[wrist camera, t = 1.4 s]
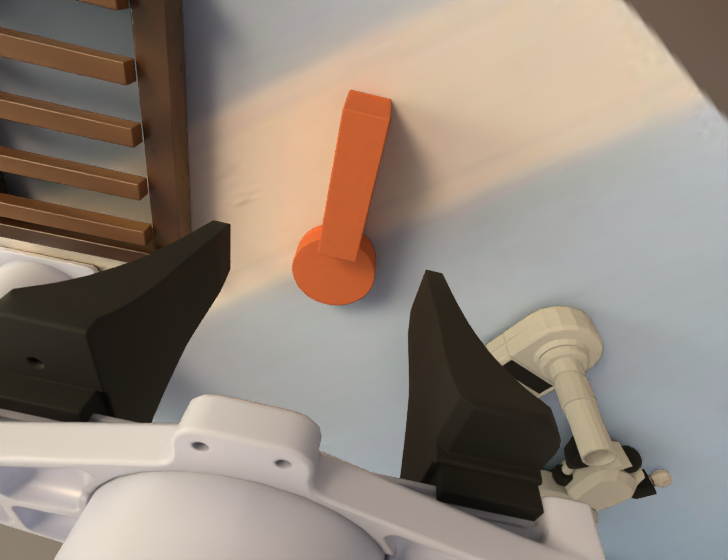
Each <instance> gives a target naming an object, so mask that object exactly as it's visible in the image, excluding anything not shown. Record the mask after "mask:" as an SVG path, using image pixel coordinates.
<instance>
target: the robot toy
mask: <svg viewBox="0 0 728 560" xmlns="http://www.w3.org/2000/svg"><path fill="white" fill-rule="evenodd" d="M612 443H613V445H614V448H615V450H616V453H617V459H616V460H615V461H614V462H612V463H610V464H608V465H604V466H589V465H586V464H585V463H583V462H582V459H581V456H580V453H579V451H578V448H577V445H576V442H575V439H574V436H572V438H571V439H570V441H569V442H568V443H567V445H566V446H565V448H564V452H565V460H564V461H563V462H562V463H561V464H559V465H556V467H555V468H554V469H553V471H552V472H549V471H546V470H542V469H541V470H540V471H541V476H542V480H543V481H542V484H541V485H540V486H539V491H540V496H541V498H542V497H544V496H557V497H562V498H567V499H571V500H576V501H581V502H585V503H588V504H589V505H590V507H591V511H592V514H593V517H594V521H595V524H596V525H597V523H598V515H597V513H596V511H595V510H598V511H600V510H603V509H606V508H608V507H611V506H613V505H616V504H618V503H620V502H623V501H625V500H627V499H630V498H634V499H638V498H642V497H646V496H650V495H654V494H656V490H655V488H654V486H656V487H665V486H668V485H670V484H671V483H672V479H671V475H670V474H669V472H668V471H666V470H656V471H654V472H653V473H652V474H650V475H649V476H648V475H647V473H646V472H645V470H644V469H641V465H642V459H641V456H640V454H639V453H638V452H637V451H636V450H635V449H634V448H632V447H630V446H621V445H620V443H619V442H614V441H612Z"/></svg>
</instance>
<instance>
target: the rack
mask: <svg viewBox="0 0 728 560" xmlns="http://www.w3.org/2000/svg"><path fill="white" fill-rule="evenodd" d="M77 1H81V2H85V3H89V4H93V5H97V6H101V7H105V8H109V9H113V10H122V9H128V8H129V5H128V0H77ZM130 8H131V18H132V27H133V37H134V47H135V56H136V66H137V76H138V86H139V95H140V105H141V115H142V124H143V134H144V144H145V154H146V163H147V173H148V183H149V192H150V202H151V212H152V222H153V228H152V225H151V224H148V223H143V222H138V221H133V220H129V219H124V218H119V217H114V216H109V215H105V214H100V213H95V212H90V211H85V210H81V209H76V208H71V207H66V206H62V205H57V204H52V203H47V202H42V201H38V200H33V199H28V198H23V197H18V196H14V195H9V194H8V193H7V190H6V187H5V184H4V181H3V178H2V175H1V172H0V237H5V238H10V239H15V240H19V241H24V242H29V243H34V244H39V245H44V246H49V247H54V248H59V249H64V250H69V251H74V252H79V253H84V254H89V255H94V256H99V257H104V258H109V259H114V260H119V261H124V262H132V261H134V260H137V259H139V258H142V257H144V256H146V255H149V254H151V253H153V252H155V251H157V250H159V249H161V248H163V247H165V246H167V245H169V244H171V243H173V242H175V241H177V240H179V239H181V238H183V237H184V236H186V235H188V234H190V233H191V218H190V194H189V170H188V145H187V121H186V96H185V72H184V48H183V23H182V0H130ZM0 56H2V57H6V58H10V59H15V60H19V61H23V62H28V63H32V64H36V65H41V66H45V67H49V68H53V69H58V70H62V71H66V72H71V73H75V74H79V75H83V76H88V77H92V78H96V79H101V80H105V81H109V82H114V83H118V84H122V85H128V84H131V83H133V82H135V81H136V70H135V61H134V59H133V58H129V57H124V56H120V55H116V54H112V53H108V52H103V51H99V50H95V49H91V48H87V47H82V46H78V45H74V44H70V43H65V42H61V41H57V40H53V39H49V38H44V37H40V36H36V35H32V34H28V33H23V32H19V31H15V30H11V29H7V28H2V27H0ZM0 118H2V119H6V120H11V121H15V122H20V123H24V124H29V125H33V126H38V127H42V128H47V129H51V130H56V131H60V132H65V133H69V134H74V135H78V136H83V137H88V138H92V139H97V140H101V141H106V142H110V143H115V144H119V145H124V146H128V147H133V148H134V147H136V146H137V145H138V144H140V143H141V142H142V141H143V139H142V129H141V123H137V122H133V121H129V120H124V119H120V118H115V117H111V116H107V115H102V114H98V113H93V112H89V111H85V110H80V109H76V108H71V107H67V106H62V105H58V104H54V103H49V102H45V101H40V100H36V99H32V98H27V97H23V96H18V95H14V94H9V93H5V92H1V91H0ZM0 171H3V172H8V173H13V174H17V175H22V176H27V177H32V178H36V179H41V180H46V181H50V182H55V183H60V184H64V185H69V186H74V187H79V188H83V189H88V190H93V191H97V192H102V193H107V194H111V195H116V196H121V197H126V198H130V199H135V200H141V199H142V198H143V197H144V196H146V195H147V194H148V188H147V179H146V178H145V177H141V176H136V175H132V174H127V173H123V172H118V171H113V170H109V169H104V168H100V167H95V166H90V165H86V164H81V163H76V162H72V161H67V160H63V159H58V158H53V157H49V156H44V155H40V154H35V153H30V152H26V151H21V150H17V149H12V148H7V147H3V146H0Z"/></svg>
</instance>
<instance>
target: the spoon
mask: <svg viewBox="0 0 728 560" xmlns="http://www.w3.org/2000/svg"><path fill="white" fill-rule="evenodd" d="M390 121H391V100H390V99H387V98H383V97H379V96H375V95H371V94H366V93H362V92H358V91H354V90H350V91H349V94H348V96H347V99H346V102H345V104H344V107H343V110H342V116H341V122H340V128H339V133H338V139H337V145H336V150H335V156H334V162H333V168H332V173H331V179H330V185H329V191H328V196H327V202H326V208H325V213H324V219H323V225H321V226H318V227H316V228H314V229H312V230H310V231H309V232H308V233H307V234H305V236H304V237H303V238H302V240H301V241H300V243H299V246H298V249H297V251H296V254H295V257H294V260H293V265H292V271H293V276H294V279H295V281H296V283H297V285H298V287H299V288H300V289H301V290H302V291H303V292H304V293H305V294H306V295H307V296H309V297H310V298H312V299H314V300H316V301H318V302H321V303H324V304H329V305H345V304H349V303H353V302H355V301H357V300H359V299H361V298H362V297H364V296H365V295H366V294H367V293H368V292H369V290H370V289H371V287H372V285H373V283H374V279H375V267H376V255H375V251H374V248H373V246H372V244H371V242H370V241H369V240H368V238H367V237H366V236H365V235H364V234H363V231H364V227H365V223H366V219H367V215H368V211H369V207H370V203H371V199H372V195H373V190H374V186H375V182H376V178H377V174H378V170H379V166H380V162H381V158H382V154H383V150H384V145H385V141H386V137H387V133H388V129H389V125H390Z"/></svg>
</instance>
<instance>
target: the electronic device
mask: <svg viewBox="0 0 728 560" xmlns="http://www.w3.org/2000/svg"><path fill="white" fill-rule="evenodd" d="M485 347H486V348H487V349H488V351H489V352H490V353H491V354H492V355H493V356H494V358H495V359H496V360H497V361H498V362H499V363H500V364H501V365H502V366H503V367H504V368H505V369H506V370H507V371H508V372H509V373H510V374H511V375H512V376H513V377H514V378H515V379H516V380H517V381H518V382H519V383H520V384H522V385H523V386H524V387H525V388H526V389H527V390H528V391H530V392H531V393H532V394H533V395H535V396H536V397H537V398H540V397H542V396H544V395H546V394H547V393H549V392H551V391H553V390H554V389H555V390H556V393H557V396H558V399H559V402H560V405H561V408H562V411H563V413H564V414H565V415H566V416H567V419H568V422H569V424H570V427H571V430H572V433H573V436H574V439H575V442H576V445H577V448H578V451H579V453H580V456H581V459H582V462H583V463H585V464H586V465H589V466H604V465H608V464H610V463H612V462H614V461H615V460H616V459H617V453H616V450H615V448H614V445H613V443H612V441H611V438H610V436H609V434H608V431H607V429H606V426H605V424H604V422H603V419H602V417H601V414H600V412H599V410H598V407H599V405H598V402H597V399H596V397H595V395H594V392H593V390H592V388H591V385H590V383H589V380H588V379H587V378H586V374H585V372H586V371H588V370H589V369H590V368H591V367H593V366H594V365H595V364H596V363H597V362H598V360H599V359H600V357H601V355H602V350H603V343H602V341H601V339H600V337H599V334H598V333H597V331H596V329H595V327H594V325H593V323H592V321H591V319H590V317H589V316H588V315H586V314H585V313H584V312H582V311H581V310H578V309H575V308H571V307H568V306H552V307H547V308H543V309H540V310H538V311H536V312H534V313H532V314H530V315H528V316H527V317H525V318H524V319H522V320H521V321H519V322H518V323H517V324H515V325H514V326H512V327H511V328H509V329H508V330H507V331H505V332H504V333H502V334H501V335H499V336H498V337H497V338H495V339H494V340H492V341H491V342H490V343H488V344H487V345H485Z"/></svg>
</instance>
